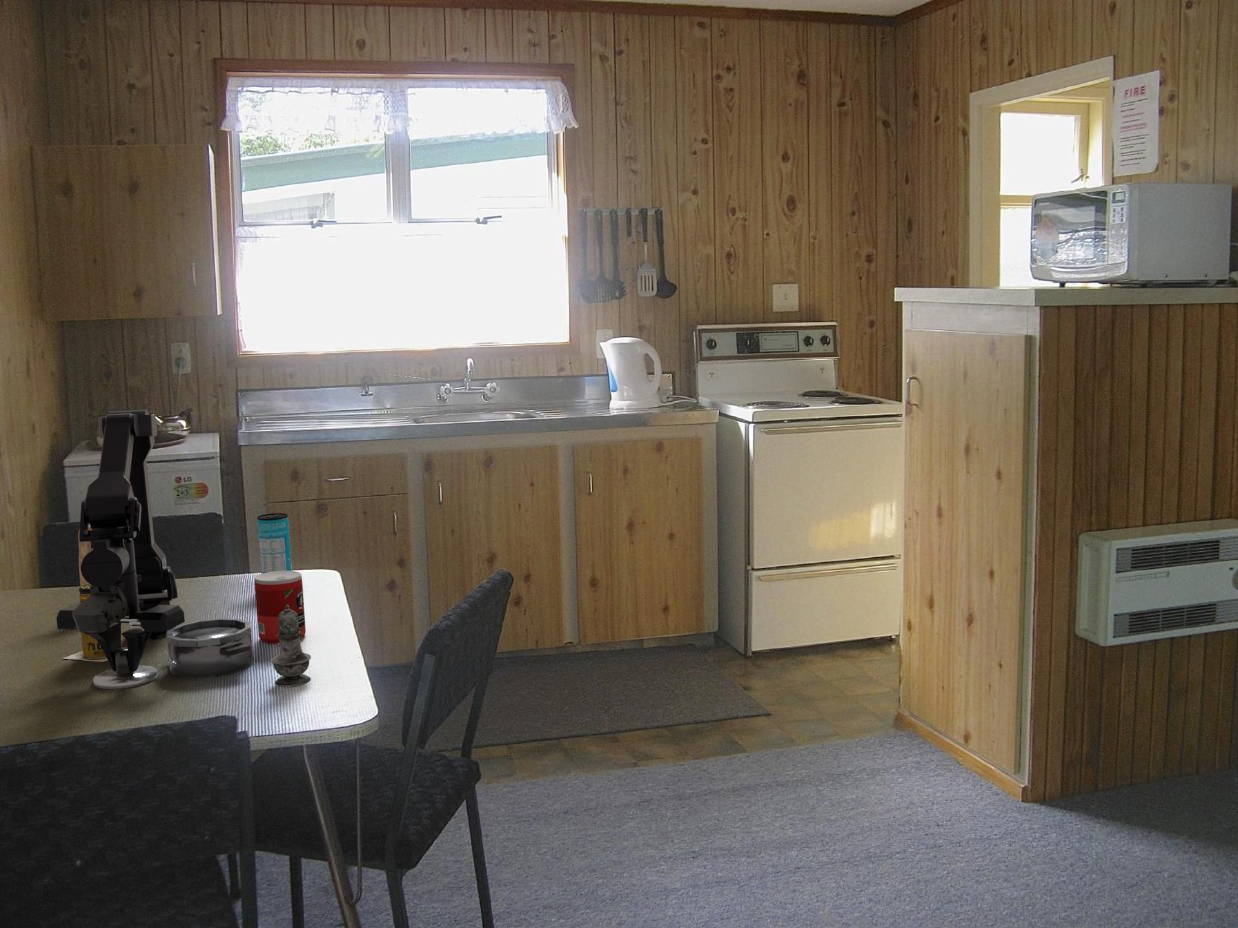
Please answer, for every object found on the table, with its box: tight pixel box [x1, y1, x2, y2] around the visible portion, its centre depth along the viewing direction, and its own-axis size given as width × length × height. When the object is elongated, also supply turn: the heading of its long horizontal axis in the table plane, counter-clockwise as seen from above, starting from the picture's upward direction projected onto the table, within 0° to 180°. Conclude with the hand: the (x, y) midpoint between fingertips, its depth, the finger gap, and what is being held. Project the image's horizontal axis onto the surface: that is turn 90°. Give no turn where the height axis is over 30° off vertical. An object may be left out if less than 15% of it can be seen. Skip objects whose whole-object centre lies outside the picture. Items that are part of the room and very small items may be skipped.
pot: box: [165, 617, 254, 679], centre depth 195 cm, size 18×13×6 cm
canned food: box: [254, 570, 307, 645], centre depth 210 cm, size 8×8×11 cm
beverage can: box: [256, 512, 293, 574], centre depth 245 cm, size 6×6×15 cm
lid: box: [92, 646, 159, 690], centre depth 190 cm, size 9×9×5 cm
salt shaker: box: [270, 604, 312, 688], centre depth 185 cm, size 6×6×12 cm
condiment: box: [62, 583, 123, 663], centre depth 204 cm, size 7×8×12 cm
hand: (125, 671), depth 190 cm, fingers closed on lid, 3 cm apart
